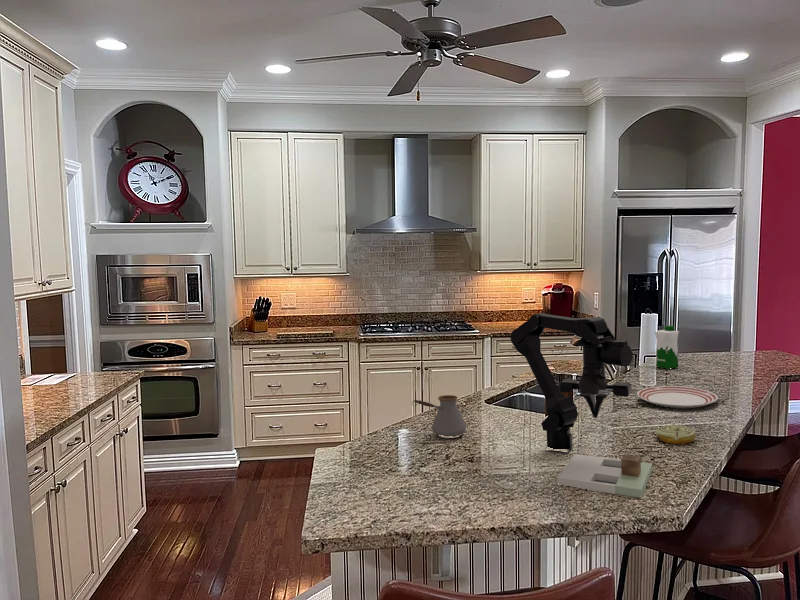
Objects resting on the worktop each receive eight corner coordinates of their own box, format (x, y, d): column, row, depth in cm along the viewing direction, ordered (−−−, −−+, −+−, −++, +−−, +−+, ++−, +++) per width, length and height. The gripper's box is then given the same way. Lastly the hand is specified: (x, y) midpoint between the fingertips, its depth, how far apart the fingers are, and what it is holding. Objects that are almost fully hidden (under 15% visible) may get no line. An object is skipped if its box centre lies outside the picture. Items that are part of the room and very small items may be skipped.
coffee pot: (448, 428, 204) (446, 385, 203) (474, 434, 196) (472, 390, 195) (403, 443, 190) (400, 397, 189) (428, 451, 181) (426, 403, 180)
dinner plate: (728, 412, 206) (728, 403, 206) (645, 412, 212) (645, 403, 212) (705, 394, 233) (704, 385, 233) (631, 394, 239) (631, 386, 239)
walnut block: (621, 474, 149) (621, 459, 149) (624, 469, 153) (623, 454, 153) (638, 477, 147) (638, 461, 147) (640, 471, 151) (640, 456, 151)
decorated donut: (649, 439, 183) (648, 427, 182) (672, 432, 188) (672, 421, 187) (679, 447, 173) (678, 435, 173) (702, 440, 178) (702, 428, 178)
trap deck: (557, 485, 150) (557, 477, 150) (575, 461, 166) (575, 454, 166) (641, 497, 140) (641, 489, 140) (652, 470, 156) (652, 463, 156)
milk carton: (681, 368, 282) (680, 326, 281) (668, 370, 279) (667, 328, 277) (666, 365, 290) (665, 325, 289) (652, 367, 287) (652, 326, 285)
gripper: (552, 366, 163) (554, 422, 164) (624, 369, 153) (625, 428, 154) (563, 359, 172) (564, 412, 173) (631, 362, 163) (632, 417, 164)
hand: (595, 417), depth 166 cm, fingers closed
